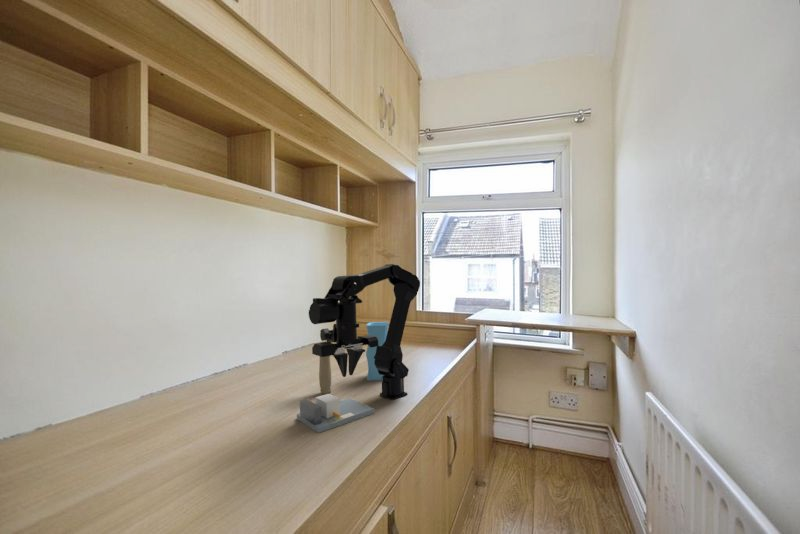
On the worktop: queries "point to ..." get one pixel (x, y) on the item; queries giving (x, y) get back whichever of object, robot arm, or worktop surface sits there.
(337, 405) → the block
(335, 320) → the robot arm
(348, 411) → the board
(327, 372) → the handle
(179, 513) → the worktop surface
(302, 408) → the dark grey upright slab
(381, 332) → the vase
